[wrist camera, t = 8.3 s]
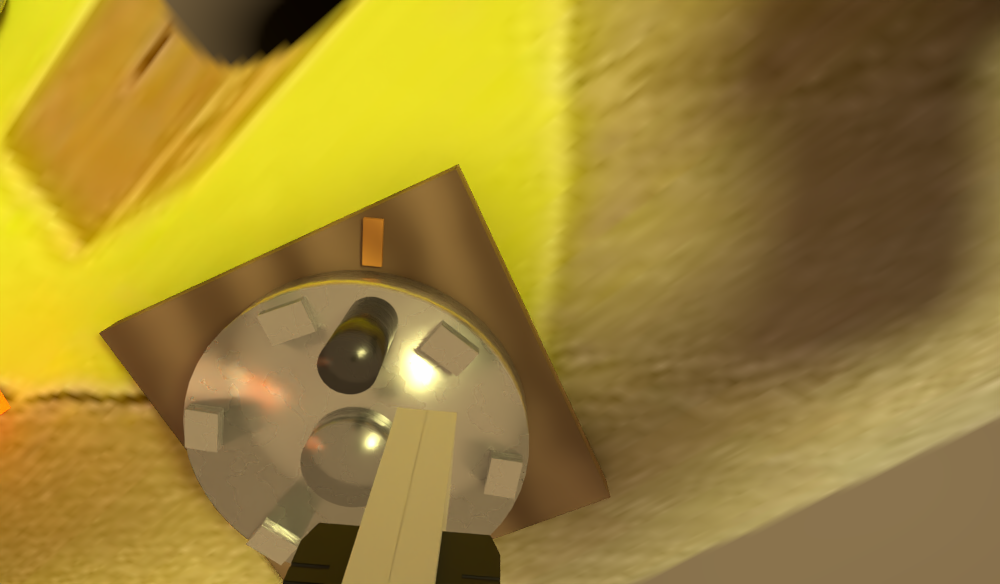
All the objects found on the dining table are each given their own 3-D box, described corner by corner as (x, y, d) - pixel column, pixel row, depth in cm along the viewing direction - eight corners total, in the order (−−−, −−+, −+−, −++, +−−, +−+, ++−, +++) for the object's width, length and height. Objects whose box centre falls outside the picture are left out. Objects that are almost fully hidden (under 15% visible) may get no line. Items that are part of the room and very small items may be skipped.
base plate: (458, 164, 37) (455, 169, 34) (605, 479, 45) (611, 499, 42) (118, 321, 40) (96, 334, 38) (310, 585, 48) (301, 609, 46)
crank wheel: (495, 567, 45) (494, 681, 36) (203, 524, 43) (131, 632, 35) (558, 302, 37) (574, 369, 29) (208, 241, 36) (117, 291, 27)
